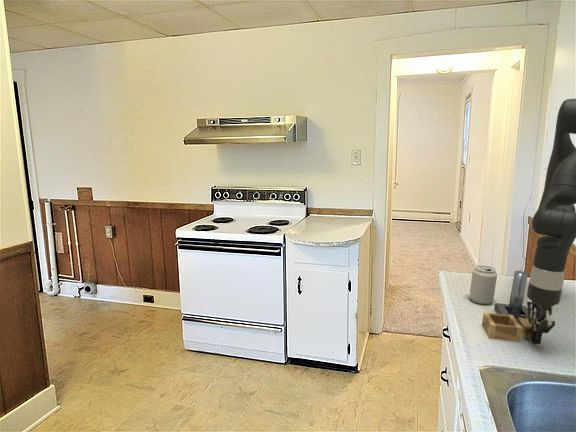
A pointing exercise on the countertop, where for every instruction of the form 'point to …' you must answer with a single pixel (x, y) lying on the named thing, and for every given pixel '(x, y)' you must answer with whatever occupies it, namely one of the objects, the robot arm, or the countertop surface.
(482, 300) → the can
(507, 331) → the brown square frame
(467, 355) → the countertop surface
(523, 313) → the socket block
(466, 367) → the countertop surface
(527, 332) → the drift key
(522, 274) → the grey capsule rod
